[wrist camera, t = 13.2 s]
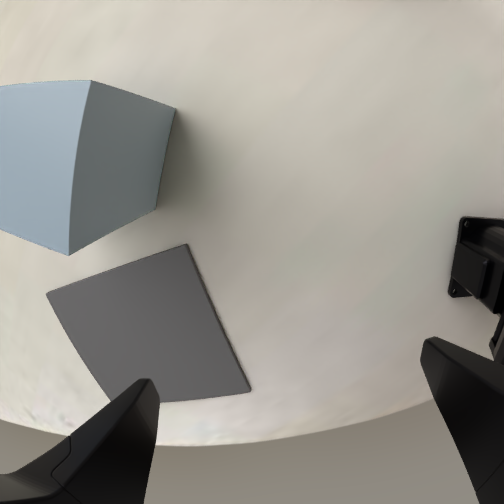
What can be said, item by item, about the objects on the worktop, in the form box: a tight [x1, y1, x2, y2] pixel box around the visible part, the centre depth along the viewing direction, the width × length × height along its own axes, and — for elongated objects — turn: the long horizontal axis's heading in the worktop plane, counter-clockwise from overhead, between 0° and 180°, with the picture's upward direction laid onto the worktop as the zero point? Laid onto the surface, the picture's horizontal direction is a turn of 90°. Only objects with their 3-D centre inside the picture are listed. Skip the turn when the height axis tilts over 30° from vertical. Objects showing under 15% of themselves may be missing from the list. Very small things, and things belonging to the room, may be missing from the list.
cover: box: [0, 80, 175, 256], centre depth 15 cm, size 7×7×10 cm
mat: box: [46, 244, 251, 403], centre depth 24 cm, size 16×14×1 cm
